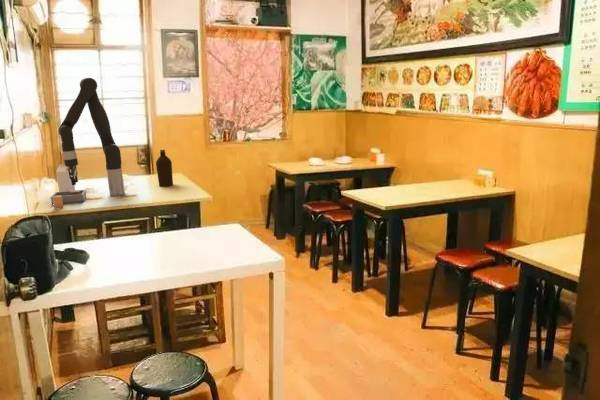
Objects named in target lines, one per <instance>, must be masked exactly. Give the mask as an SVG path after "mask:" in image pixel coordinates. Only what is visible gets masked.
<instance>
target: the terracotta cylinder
mask: <svg viewBox="0 0 600 400" xmlns="http://www.w3.org/2000/svg"><path fill="white" fill-rule="evenodd" d="M53 203H54V205H53V208H61V209H63V208H64V204H63V200H62V196H61V195H58V196H53Z"/></svg>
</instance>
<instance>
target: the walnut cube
mask: <svg viewBox="0 0 600 400" xmlns="http://www.w3.org/2000/svg"><path fill="white" fill-rule="evenodd" d="M80 190H81V189H75V190H74V191H71V192H70V193H71V195H78V194H81V191H80Z"/></svg>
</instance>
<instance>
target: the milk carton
mask: <svg viewBox="0 0 600 400" xmlns="http://www.w3.org/2000/svg"><path fill="white" fill-rule="evenodd" d="M68 169H69V167H66V166H65V164H58V167H57V169H56V171H55V173H56V180H57V187H58V192H64V191H74V190H76V188H75V187H76V185H72V183H71V179H70V177H69V172H68ZM71 177H73V176H71Z"/></svg>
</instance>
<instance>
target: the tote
mask: <svg viewBox="0 0 600 400" xmlns="http://www.w3.org/2000/svg"><path fill="white" fill-rule="evenodd" d="M79 190H80V191H81V194H78V195H71V193H70V192H71V191H64V192H59V191H55V192H54V193H53V194H52V195H51V197H50V199H51V200H50V201H51V205H52V204H54V203H53V196H58V195H61V196H62V200H63V205H68V204H69V205H70V204H79V203H85V201H86V200H87V198H86V193H87V189H79Z"/></svg>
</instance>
